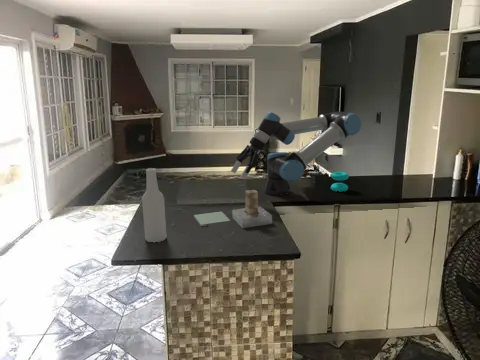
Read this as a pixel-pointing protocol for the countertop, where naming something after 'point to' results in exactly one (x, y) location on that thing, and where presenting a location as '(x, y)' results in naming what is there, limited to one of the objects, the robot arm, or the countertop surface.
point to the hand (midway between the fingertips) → (237, 175)
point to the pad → (210, 218)
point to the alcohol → (153, 209)
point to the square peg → (251, 202)
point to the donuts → (340, 176)
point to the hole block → (252, 217)
